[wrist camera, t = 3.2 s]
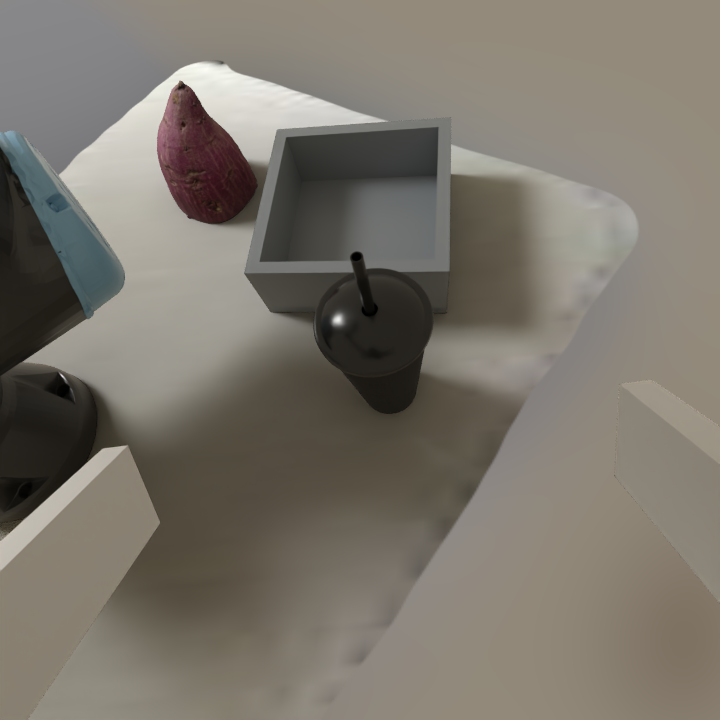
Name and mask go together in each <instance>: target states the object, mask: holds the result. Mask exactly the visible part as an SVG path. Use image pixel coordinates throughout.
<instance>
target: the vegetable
mask: <svg viewBox="0 0 720 720" xmlns="http://www.w3.org/2000/svg"><path fill="white" fill-rule="evenodd" d="M157 152H158V159H159V163H160V167H161V170H162V173H163V175H164V178H165V180H166V182H167V184H168V187H169V190H170V192H171V194H172V196H173V198H174V200H175V201H176V203H177V205H178V206H179V207H180V209H181V210H182V211H183V212H184V213H185V214H186V215H188V216H187V217H188V218H192V219H195V220H197V221H200V222H204V223H209V224H211V223H220V222H224V221H227V220H229V219H231V218H233V217H234V216H235V215H236V214H238V213H239V212H240V211H241V210H242V209H243V208H244V207H245V205H246V204H247V203H248V201H249V200H250V199H251V198H252V196H253V195H254V193H255V189H256V188H257V182H256V178H255V176H254V174H253V172H252V170H251V168H250V166H249V164H248V162H247V160H246V159H245V157H244V156H243V154H242V153H241V151H240V149H239V147H238V145H237V144H236V143H235V142H234V140H233V139H232V137H231V136H230V135H229V134H228V133H227V132H226V131H225V130H224V129H223V128H222V127H221V126H220V125H219V124H218V123H217V122H215V121H214V120H213V118H211V117H210V116H209V115H208V114H207V112H206V111H205V109H204V108H203V107H202V105H201V102H200V101H199V99H198V98H197V96H196V94H195V93H194V91H193V90H192V89H191V88H190V87H189V86H187V85H185V84H184V83H183V82H182V81H179V83H178V84H177V85H176V86H175V87H174V88H173V89H172V91H171V93H170V96H169V100H168V103H167V106H166V110H165V113H164V116H163V119H162V121H161V123H160V126H159V130H158V137H157Z"/></svg>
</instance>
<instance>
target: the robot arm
mask: <svg viewBox="0 0 720 720" xmlns="http://www.w3.org/2000/svg"><path fill="white" fill-rule="evenodd" d="M124 280H125V272H124V269H123V267H122V265H121V263H120V261H119V259H118V258H117V256H116V254H115V253H114V251H113V250H112V248H111V247H110V245H109V244H108V242H107V241H106V239H105V238H104V237H103V235H102V234H101V232H100V231H99V230H98V228H97V227H96V225H95V224H94V223H93V221H92V220H91V218H90V217H89V216H88V214H87V213H86V212H85V210H84V209H83V208H82V206H81V205H80V204H79V202H78V201H77V200H76V198H75V197H74V196H73V194H72V193H71V192H70V190H69V189H68V188H67V186H66V185H65V184H64V182H63V181H62V180H61V179H60V177H59V176H58V175H57V173H56V172H55V171H54V170H53V168H52V167H51V166H50V165H49V163H48V162H47V161H46V160H45V159H44V157H43V156H42V155H41V154H40V152H39V151H38V150H37V149H36V148H35V147H34V146H33V145H32V144H31V143H30V142H29V141H28V140H27V139H26V137H25V136H24V135H22V134H21V133H20V132H17V131H8V132H6V133H2V132H0V522H9V521H15V520H19V519H22V518H25V517H27V516H28V517H27V518H26V519H25V520H24V521H22V522H21V523H20V524H19V525H18V526H17V527H16V528H15V529H14V530H13V531H11V532H10V533H9V534H8V535H7V536H6V537H5V538H4V539H3V540H1V541H0V720H27V719H28V718H29V717H30V715H31V714H32V712H33V711H34V709H35V708H36V706H37V705H38V703H39V702H40V700H41V699H42V697H43V696H44V694H45V693H46V691H47V690H48V688H49V687H50V685H51V684H52V682H53V681H54V680H55V678H56V677H57V675H58V674H59V672H60V671H61V669H62V668H63V666H64V665H65V663H66V662H67V660H68V659H69V657H70V656H71V654H72V653H73V651H74V650H75V648H76V647H77V646H78V644H79V643H80V641H81V640H82V638H83V637H84V635H85V634H86V632H87V631H88V629H89V628H90V626H91V625H92V623H93V622H94V620H95V619H96V617H97V616H98V614H99V613H100V611H101V610H102V609H103V607H104V606H105V604H106V603H107V601H108V600H109V598H110V597H111V595H112V594H113V592H114V591H115V589H116V588H117V586H118V585H119V583H120V582H121V580H122V579H123V577H124V576H125V575H126V573H127V572H128V570H129V569H130V567H131V566H132V564H133V563H134V561H135V560H136V558H137V557H138V555H139V554H140V552H141V551H142V549H143V548H144V546H145V545H146V543H147V542H148V540H149V539H150V538H151V536H152V535H153V533H154V532H155V530H156V529H157V527H158V526H159V524H160V521H159V518H158V516H157V514H156V511H155V509H154V507H153V504H152V502H151V499H150V497H149V495H148V492H147V490H146V487H145V485H144V483H143V480H142V478H141V475H140V473H139V471H138V468H137V466H136V464H135V461H134V459H133V456H132V454H131V452H130V449H129V447H128V445H127V446H119V447H111V448H103V449H102V450H101V451H99V452H98V453H97V454H96V455H95V456H94V457H93V458H92V459H91V460H90V461H88V462H87V463H86V464H85V462H86V460H87V458H88V455H89V453H90V451H91V448H92V445H93V441H94V438H95V433H96V424H97V415H96V407H95V403H94V400H93V397H92V395H91V393H90V391H89V390H88V388H87V387H86V386H85V385H84V383H82V382H81V381H80V380H79V379H78V378H76V377H74V376H72V375H70V374H68V373H66V372H64V371H62V370H59V369H57V368H55V367H51V366H48V365H43V364H35V363H24V362H23V361H24V360H26V359H27V358H29V357H30V356H32V355H33V354H34V353H36V352H37V351H39V350H40V349H42V348H43V347H45V346H46V345H48V344H49V343H51V342H52V341H54V340H55V339H57V338H58V337H60V336H61V335H63V334H64V333H66V332H67V331H69V330H70V329H72V328H73V327H75V326H76V325H78V324H79V323H81V322H82V321H84V320H85V319H90V318H91V317H92V316H93V314H94V311H95V310H97V309H98V308H99V307H101V306H102V305H103V304H105V303H106V302H107V301H109V300H110V299H111V298H113V297H114V296H115V295H117V294H118V293H119V292H120V290H121V289H122V287H123V285H124ZM84 464H85V465H84ZM83 465H84V466H83ZM614 476H615V477H616V478H617V479H618V481H619V482H620V483H621V484H622V485H623V487H624V488H625V489H626V490H627V492H628V493H629V494H630V495H631V497H632V498H633V499H634V500H635V501H636V502H637V504H638V505H639V506H640V507H641V509H642V510H643V511H644V512H645V513H646V515H647V516H648V517H649V518H650V520H651V521H652V522H653V523H654V524H655V526H656V527H657V528H658V529H659V530H660V531H661V533H662V534H663V535H664V537H665V538H666V539H667V540H668V541H669V543H670V544H671V545H672V546H673V547H674V549H675V550H676V551H677V552H678V553H679V555H680V556H681V557H682V558H683V559H684V561H685V562H686V563H687V564H688V566H689V567H690V568H691V569H692V570H693V572H694V573H695V574H696V575H697V577H698V578H699V579H700V580H701V581H702V583H703V584H704V585H705V586H706V587H707V588H708V590H709V591H710V592H711V593H712V595H713V596H714V597H715V598H716V600H717V601H718V602H719V603H720V426H719V425H717V424H715V423H714V422H713V421H711V420H710V419H708V418H707V417H705V416H704V415H702V414H701V413H700V412H698V411H697V410H695V409H694V408H692V407H691V406H689V405H688V404H687V403H685V402H684V401H682V400H681V399H679V398H678V397H676V396H675V395H673V394H672V393H671V392H669V391H667V390H666V389H665V388H663V387H662V386H660V385H659V384H657V383H656V382H655V381H653V380H646V381H638V382H630V383H623V384H619V399H618V419H617V437H616V457H615V475H614Z"/></svg>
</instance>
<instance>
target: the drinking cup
mask: <svg viewBox="0 0 720 720" xmlns="http://www.w3.org/2000/svg"><path fill="white" fill-rule="evenodd" d="M350 261H351V264H352V268H353V273H351V274H348V275H346V276H345V277H343V278H341V279H340V280H338V281H337V282H335V283H334V284H333V285H332V286H331V287H330V288H329V289H328V290H327V291H326V292H325V294H324V295H323V296H322V298H321V300H320V301H319V304H318V306H317V308H316V311H315V315H314V322H313V329H314V336H315V339H316V342H317V345H318V347H319V349H320V351H321V352H322V354H323V355H324V356H325V358H326V359H327V360H328V361H329V362H330V363H331V364H332V365H334V366H335V367H337V368H338V369H340V370H341V371H342V372H343V373H344V374H345V376H346V377H347V378H348V379H349V380H350V382H351V383H352V384H353V385H354V386H355V388H356V389H357V390H358V391H359V392H360V394H361V395H362V396H363V397H364V399H365V400H366V401H367V402H368V403H369V405H370V406H371V407H372V408H374V409H375V410H377V411H379V412H382V413H387V414H392V413H397V412H400V411H402V410H404V409H405V408H407V407H408V406H409V405H410V404H411V403H412V401H413V399H414V397H415V394H416V389H417V384H418V379H419V374H420V369H421V364H422V359H423V354H424V349H425V347H426V346H427V344H428V342H429V340H430V337H431V334H432V330H433V309H432V305H431V302H430V300H429V297H428V296H427V294H426V292H425V291H424V290H423V288H422V287H421V286H420V285H419V284H418V283H417V282H416V281H415V280H413V279H412V278H410V277H409V276H407V275H405V274H403V273H401V272H398V271H395V270H391V269H385V268H370V269H366V266H365V261H364V257H363V254H362V253H361V252H359V251H356V252H353V253H352V254H351V255H350Z"/></svg>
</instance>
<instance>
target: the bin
mask: <svg viewBox="0 0 720 720" xmlns="http://www.w3.org/2000/svg"><path fill="white" fill-rule="evenodd" d="M450 178H451V117H450V118H436V119H422V120H408V121H393V122H378V123H364V124H350V125H335V126H321V127H307V128H292V129H278V130H277V132H276V136H275V141H274V145H273V149H272V154H271V158H270V162H269V167H268V171H267V176H266V180H265V184H264V189H263V193H262V198H261V202H260V206H259V211H258V215H257V220H256V224H255V228H254V233H253V237H252V241H251V246H250V250H249V255H248V259H247V263H246V268H245V272H244V274H245V275H246V277H247V278H248V280H249V281H250V283H251V284H252V285H253V287H254V288H255V290H256V291H257V293H258V294H259V296H260V297H261V299H262V300H263V301H264V303H265V304H266V306H267V307H268V309H269V310H270V312H315V311H316V308H317V306H318V304H319V301H320V300H321V298H322V296H323V295H324V294H325V292H326V291H327V290H328V289H329V288H330V287H331V286H332V285H333V284H334V283H335V282H337V281H338V280H340V279H341V278H343V277H345V276H346V275H348V274H351V273H353V268H352V264H351V261H350V255H351V254H352V253H353V252H356V251H359V252H361V253H362V254H363V257H364V261H365V266H366V269H370V268H385V269H391V270H395V271H398V272H401V273H403V274H405V275H407V276H409V277H410V278H412V279H413V280H415V281H416V282H417V283H418V284H419V285H420V286H421V287H422V288H423V290H424V291H425V292H426V294H427V296H428V297H429V300H430V302H431V305H432V309H433V313H446V310H447V297H448V284H449V270H450Z"/></svg>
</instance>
